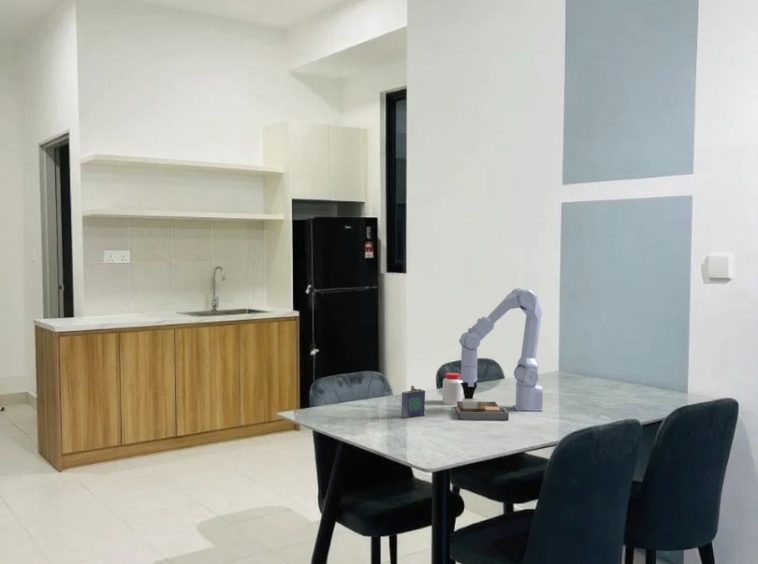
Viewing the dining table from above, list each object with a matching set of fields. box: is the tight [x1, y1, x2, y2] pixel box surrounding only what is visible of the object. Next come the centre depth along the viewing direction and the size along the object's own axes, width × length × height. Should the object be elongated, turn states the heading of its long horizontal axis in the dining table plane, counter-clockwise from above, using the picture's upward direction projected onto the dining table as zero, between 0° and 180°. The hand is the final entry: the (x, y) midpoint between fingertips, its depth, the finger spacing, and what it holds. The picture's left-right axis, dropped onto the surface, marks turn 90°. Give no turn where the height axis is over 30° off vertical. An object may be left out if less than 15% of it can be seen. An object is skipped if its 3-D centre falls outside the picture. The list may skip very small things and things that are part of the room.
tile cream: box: [462, 398, 479, 409], centre depth 258 cm, size 5×5×2 cm
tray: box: [455, 406, 510, 421], centre depth 251 cm, size 17×9×2 cm, turn 89°
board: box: [456, 400, 499, 412], centre depth 262 cm, size 14×12×2 cm
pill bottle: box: [442, 372, 464, 406], centre depth 274 cm, size 8×8×11 cm
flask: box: [401, 385, 426, 419], centre depth 251 cm, size 9×3×11 cm, turn 121°
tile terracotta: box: [484, 406, 501, 413], centre depth 252 cm, size 5×5×2 cm
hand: (468, 402), depth 261 cm, fingers closed
